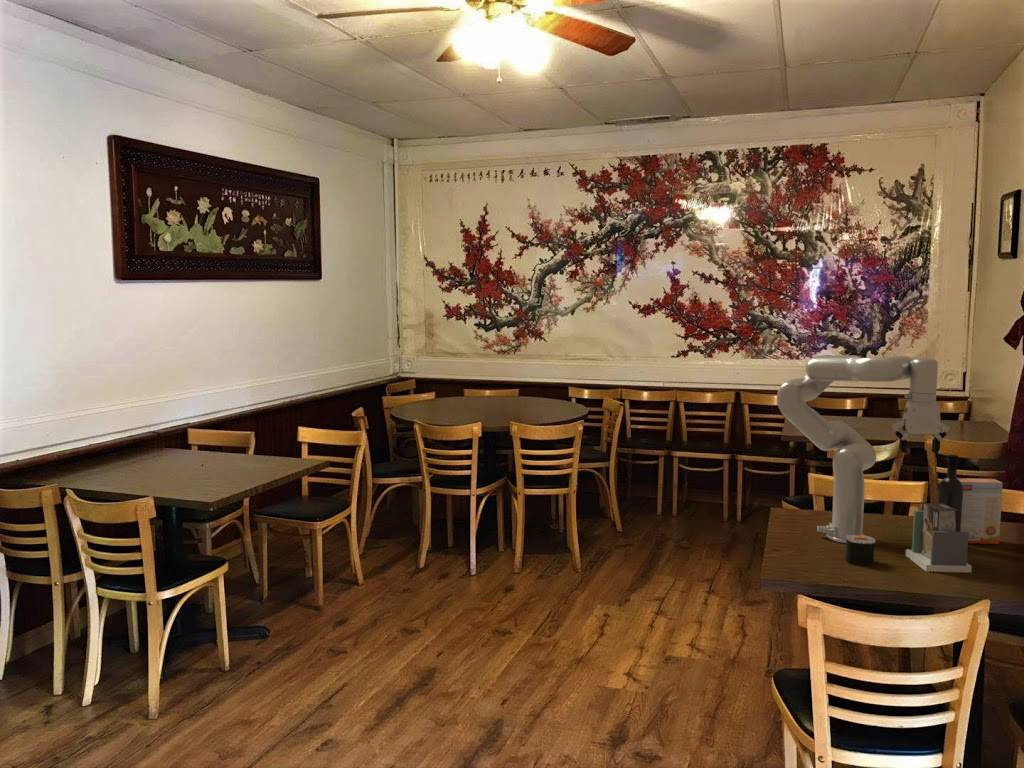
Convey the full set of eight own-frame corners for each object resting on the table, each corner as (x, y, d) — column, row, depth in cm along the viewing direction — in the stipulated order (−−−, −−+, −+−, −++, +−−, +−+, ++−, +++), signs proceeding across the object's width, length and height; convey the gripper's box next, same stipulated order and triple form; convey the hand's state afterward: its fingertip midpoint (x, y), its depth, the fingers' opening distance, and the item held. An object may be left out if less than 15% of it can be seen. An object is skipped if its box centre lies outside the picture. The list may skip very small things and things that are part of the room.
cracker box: (990, 539, 282) (995, 478, 279) (999, 545, 276) (1004, 482, 273) (947, 538, 283) (951, 477, 281) (954, 543, 277) (958, 481, 275)
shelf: (926, 571, 249) (929, 522, 248) (905, 555, 264) (908, 508, 263) (971, 572, 249) (974, 522, 247) (948, 556, 264) (951, 509, 262)
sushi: (875, 567, 253) (876, 541, 252) (845, 564, 256) (847, 538, 255) (873, 559, 261) (874, 534, 260) (844, 556, 263) (845, 531, 262)
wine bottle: (946, 542, 278) (952, 453, 274) (961, 547, 272) (967, 456, 269) (933, 544, 276) (938, 454, 273) (947, 549, 271) (953, 457, 267)
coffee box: (957, 563, 251) (960, 510, 249) (936, 563, 251) (939, 510, 249) (939, 553, 260) (943, 502, 258) (919, 553, 260) (922, 502, 258)
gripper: (898, 399, 258) (895, 454, 260) (956, 400, 257) (953, 455, 259) (889, 396, 266) (886, 449, 268) (945, 396, 265) (942, 450, 267)
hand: (919, 452), depth 263 cm, fingers open, 9 cm apart
